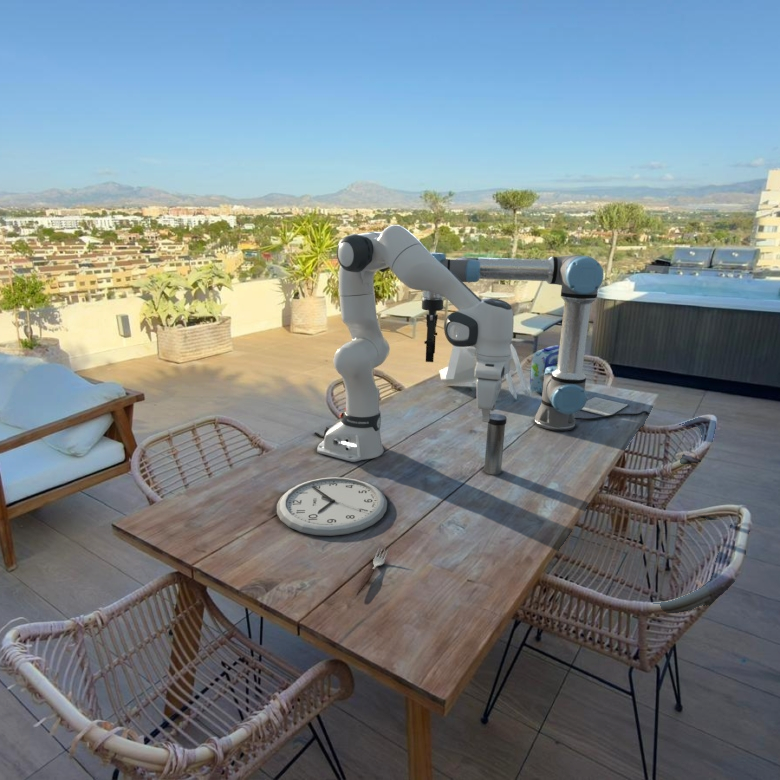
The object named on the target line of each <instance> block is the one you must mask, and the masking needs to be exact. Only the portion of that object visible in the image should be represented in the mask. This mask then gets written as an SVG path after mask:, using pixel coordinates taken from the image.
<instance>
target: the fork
mask: <svg viewBox="0 0 780 780" xmlns="http://www.w3.org/2000/svg"><path fill="white" fill-rule="evenodd" d="M380 547H381V545H379V546H378V549H377V551H376V554H375V557H374V558H373V561H372V563H373V567H372V568H371V569H370V570H369V571H368V573H367V574H366V575H365V576H364V578H363V580H362V582H361V584H360V586H359V589H357V592H356V596H359V594H360V593H361V591H362V590H363V589H364V587H365V586H367V584H368V583H369V581H370V580H371V579H372V576H373V574H374V571H375V569H376V568H377V567H379V566H382V565H384V564H385V562H386V559H387V556H388V552H389V549H387V550H386V548H387V546H385V547H383V546H382V548H381V550H380ZM383 548H384V550H383ZM379 551H380V552H379ZM382 551H383V552H382ZM385 551H386V552H385Z"/></svg>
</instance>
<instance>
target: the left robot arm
mask: <svg viewBox="0 0 780 780" xmlns="http://www.w3.org/2000/svg"><path fill="white" fill-rule="evenodd" d="M431 253H432V252H430V251H429V250H428V249H427V248H426V247H425V246H424V244H423V243H422V242H421V241H420V240H419V239H418V238H417V237H416V236H415V235H414V234H413V233H411V231H409V230H407V228H405V227H404V226H402V225H398V224H393V225H389V226H388V227H386V228H384V230H382V231H367V232H364V233H352V234H349V235H346V236H344V237H343V238H342V239H340V240H339V242H338V244H337V248H336V257H337V262H338V264H339V268H338V295H339V296H338V297H339V306H340V315H341V321H342V323H343V324H344V325H345V326H346V327H347V329H348V331H349V334H350V338H351V340H350V341H348V342H345V343H344V344H343V345H342V346H341V347H339V348H338V349H337V350H336V351H335V353H334V355H333V360H332V361H333V362H332V363H333V366H334V369H335V371H336V372H337V373H338V374H339V375H340V376H341V379H342V382H343V385H344V391H345V408H344V409H343V411H341V412H340V414H339V417H338V419H340V421H338V422H337V423H334V424H331V425H327V426H326V427H325V429H324V432H323V435H321V434H320V433H318V432H314V435H315V436H317V437H318V438H321V439H323V440H322V441H321V442H320V443H319V444H318V445H317V449H316V451H317V453H318V454H321V455H325V456H328V457H333V458H336V459H339V460H343V461H347V462H351V463H357V462H360V461H363V460H371V459H375V458H379V457H380V456H382V455H383V453H384V452H385V450H384V446H383V442H382V438H381V436H382V435H381V426H382V425H381V424H382V417H381V410H380V388H379V386H378V385H377V384H376V382H375V377H374V370H375V369H376V368H377V367H379V366H381V365H382V364H383V363H384V362H385V361H386V360H387V359H388V357H389V355H390V351H391V349H390V344H389V342H388V340H387V338H385V337H384V335H383V332H382V330H381V327H380V324H379V319H378V314H377V306H376V305H377V303H376V295H375V294H376V293H375V285H374V278H375V275H376V273H378V271H379V272H381V273H384V272H386V271H387V270H390V271H391V272H392V273H393V274H394V275H395V277H396V278H397V279H398V280H399V281H400V282H401V283H402V284H403V285H405V286H406V287H408V288H409V289H411V290H415V291H420V292H423V291H427V292H432V293H436V294H439V295H441V296H443V298H445V299H446V300H448V301H449V302H450V304H452V306H454V307H455V308H456V309H457V310H455V311H453V312H451V313H449V314H448V315H447V317H446V319H445V321H444V325H443V332H444V335H445V338H446V340H447V341H448V342H449V344H450V345H452V346H453V345H454V346H457V347H468V346H469V347H475V348H476V356H475V375H474V376H475V378H477V383H476V387H475V388H476V406H477V407H476V408H477V409H478V410H481V415H482V417H481V421H482V422H483V423H488V422H489V420H490V414H491V411H494V410H495V409H496V402H497V399H498V396H499V394H500V391H502V390H501V389H502V385H503V380H504V378H505V374H507V373H509V372H510V373H511V360H512V359H511V348H510V344H512V340H513V337H514V322H515V321H514V318H515V317H514V310H513V307H512V305H511V304H510V303H509V302H507V301H505V300H502V299H499V298H497V299H496V298H484V299H481V298H480V297H479V296H478V295H477V294H476V293H475V292H474V291H473V290H472V289H470V288H469V286H468V285H466V284H465V282H462V281H461V280H460V279H459V278H458V277H457V276H456V275H454V274H453V273H452V272H451V271H450V270H448V269H447V268H446V267H445V266H443V265H442V264H441V263H440V262H439V261H438V260H437V259H436V258H435V257H434V256H433V255H432V254H431Z"/></svg>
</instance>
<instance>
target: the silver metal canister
mask: <svg viewBox="0 0 780 780" xmlns="http://www.w3.org/2000/svg"><path fill="white" fill-rule="evenodd" d="M505 429H506V424H505V425H492V424H489V423H488V422H487V430H486V442H485V443H486V445H485V456H484V467H483V468H484V469H483V470H484V472H485V473H486V474H488V475H491V476H492V475H493V476H496V475H500V474H501V473H502V464H503V455H504V443H505V442H504V441H505V432H506V430H505Z"/></svg>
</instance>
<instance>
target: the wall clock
mask: <svg viewBox="0 0 780 780" xmlns="http://www.w3.org/2000/svg"><path fill="white" fill-rule="evenodd" d="M387 509H388V500H387V498H386V496H385V494H384V493H383V492H382V491H381V490H380V489H379V488H377V487H376V486H374V485H372V484H371V483H369V482H365V481H362V480H359V479H355V478H349V477H338V476H337V477H335V476H333V477H332V476H331V477H322V478H317V479H312V480H307V481H305V482H302V483H299V484H297V485H295V486H293V487H292V488H290V489H288V490H287V491H286V492H285V493H284V494H283V495H281V496H280V498H279V499H278V502H277V503H276V515H277V517H278V518H279V520H280V521H281V522H282V523H283V524H285V525H286V526H287V527H288V528H290V529H293V530H295V531H297V532H299V533H303V534H308V535H312V536H327V537H328V536H329V537H331V536H332V537H333V536H342V535H350V534H352V533H356V532H361V531H363V530H366V529H368V528H369V527H372V526H373V525H375V524H376V523H378V522H379V521H380V520H381V519H382V518H383V517H384V516H385V514H386V512H387Z"/></svg>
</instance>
